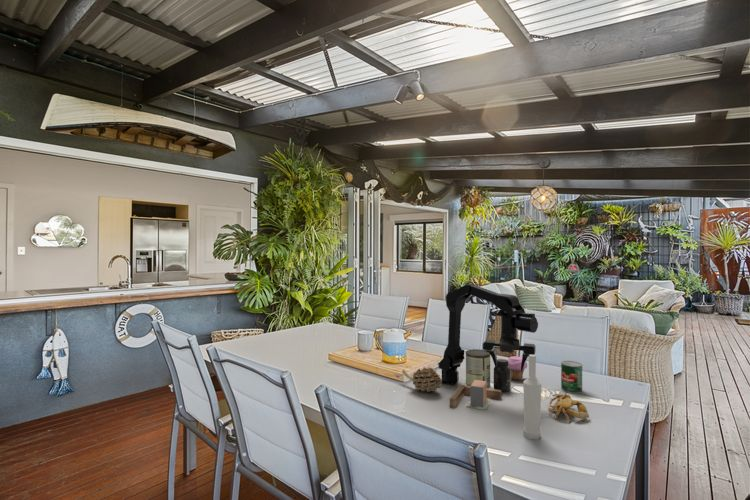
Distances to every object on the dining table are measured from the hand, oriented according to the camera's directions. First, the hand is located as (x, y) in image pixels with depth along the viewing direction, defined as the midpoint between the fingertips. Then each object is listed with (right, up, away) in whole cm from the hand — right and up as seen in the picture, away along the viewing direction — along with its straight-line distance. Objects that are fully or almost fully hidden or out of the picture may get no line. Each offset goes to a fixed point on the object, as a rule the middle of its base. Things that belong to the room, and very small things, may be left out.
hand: (508, 369), depth 156 cm
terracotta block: (-12, -12, -2) cm, 17 cm away
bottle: (-2, -12, -29) cm, 31 cm away
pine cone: (-33, -12, +13) cm, 37 cm away
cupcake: (+12, -12, +26) cm, 31 cm away
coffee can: (-7, -12, +18) cm, 23 cm away
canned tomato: (+30, -12, +12) cm, 34 cm away
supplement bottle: (+1, -12, +13) cm, 18 cm away
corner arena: (-13, -12, -1) cm, 18 cm away
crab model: (+17, -13, -12) cm, 24 cm away
